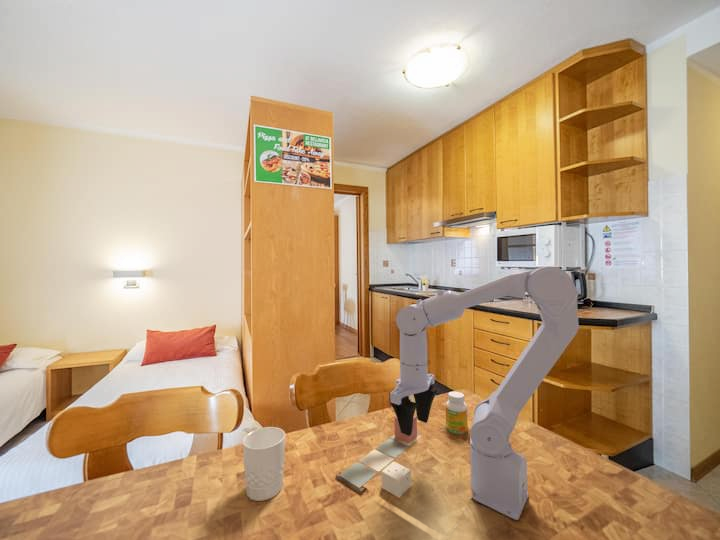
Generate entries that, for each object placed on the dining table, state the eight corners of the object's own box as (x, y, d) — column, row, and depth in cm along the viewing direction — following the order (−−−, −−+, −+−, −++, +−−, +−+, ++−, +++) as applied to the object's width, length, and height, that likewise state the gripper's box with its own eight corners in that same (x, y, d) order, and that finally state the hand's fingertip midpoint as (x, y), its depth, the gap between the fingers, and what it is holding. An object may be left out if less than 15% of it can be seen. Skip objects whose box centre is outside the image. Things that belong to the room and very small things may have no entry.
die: (411, 490, 57) (410, 469, 57) (399, 502, 54) (399, 480, 54) (393, 481, 60) (393, 461, 60) (381, 492, 57) (381, 471, 57)
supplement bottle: (446, 435, 76) (445, 397, 77) (446, 425, 82) (445, 389, 82) (468, 438, 75) (467, 399, 75) (467, 427, 80) (466, 391, 80)
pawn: (417, 436, 75) (416, 409, 75) (408, 443, 72) (408, 415, 72) (403, 430, 77) (403, 405, 77) (394, 437, 74) (394, 410, 74)
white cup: (266, 470, 64) (266, 423, 64) (294, 483, 60) (293, 433, 60) (234, 494, 57) (233, 441, 57) (262, 510, 53) (262, 453, 53)
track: (424, 439, 74) (424, 436, 74) (361, 494, 56) (361, 490, 56) (400, 430, 79) (400, 427, 79) (335, 478, 61) (335, 474, 61)
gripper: (414, 351, 71) (415, 409, 71) (377, 366, 60) (378, 434, 60) (442, 356, 66) (443, 418, 66) (407, 374, 55) (408, 447, 55)
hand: (414, 427), depth 63 cm, fingers open, 6 cm apart
